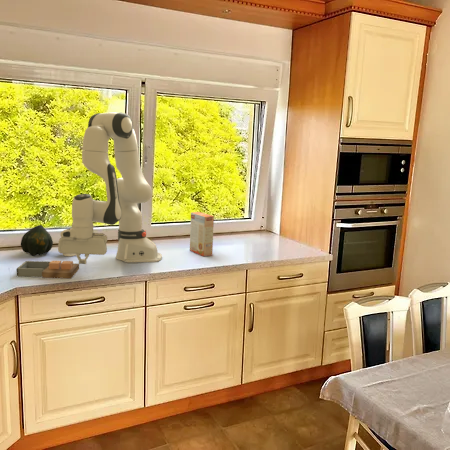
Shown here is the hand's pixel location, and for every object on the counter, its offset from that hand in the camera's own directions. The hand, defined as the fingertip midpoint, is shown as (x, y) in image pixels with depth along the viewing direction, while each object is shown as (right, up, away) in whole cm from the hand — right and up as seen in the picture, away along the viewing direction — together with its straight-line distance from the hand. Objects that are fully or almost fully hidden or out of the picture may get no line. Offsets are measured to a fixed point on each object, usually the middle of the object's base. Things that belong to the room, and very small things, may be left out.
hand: (82, 263), depth 208 cm
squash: (-31, +2, +30) cm, 43 cm away
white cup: (-15, +2, +31) cm, 34 cm away
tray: (-21, -4, 0) cm, 21 cm away
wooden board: (-9, -4, +1) cm, 10 cm away
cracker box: (+49, +2, +44) cm, 66 cm away
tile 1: (-12, -2, 0) cm, 12 cm away
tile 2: (-7, -2, 0) cm, 7 cm away
